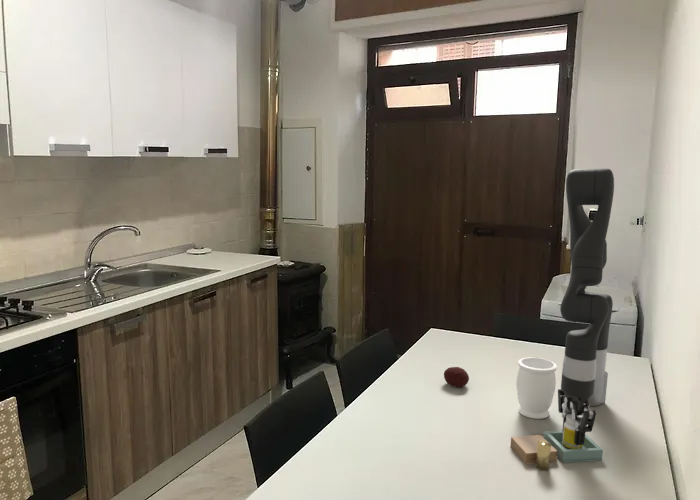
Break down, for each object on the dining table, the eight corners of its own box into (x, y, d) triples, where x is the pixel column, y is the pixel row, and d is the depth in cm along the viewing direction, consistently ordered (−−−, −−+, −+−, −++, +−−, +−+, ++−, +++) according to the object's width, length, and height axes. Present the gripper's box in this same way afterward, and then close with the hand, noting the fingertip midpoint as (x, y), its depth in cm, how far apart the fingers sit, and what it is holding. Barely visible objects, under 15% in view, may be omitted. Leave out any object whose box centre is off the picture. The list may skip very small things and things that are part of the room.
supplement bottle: (584, 454, 135) (587, 422, 133) (563, 452, 136) (566, 420, 134) (580, 445, 139) (583, 413, 138) (560, 442, 140) (563, 411, 139)
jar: (533, 424, 151) (537, 372, 149) (506, 409, 160) (510, 360, 158) (561, 416, 156) (565, 366, 153) (533, 402, 165) (537, 354, 163)
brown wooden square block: (539, 445, 140) (540, 434, 140) (556, 462, 133) (557, 451, 132) (510, 448, 139) (511, 437, 139) (525, 465, 131) (526, 453, 131)
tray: (579, 439, 143) (580, 429, 143) (601, 460, 133) (602, 449, 133) (543, 441, 142) (544, 431, 141) (563, 462, 132) (563, 451, 131)
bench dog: (545, 463, 131) (547, 440, 130) (551, 470, 128) (553, 446, 127) (533, 464, 131) (535, 440, 130) (539, 471, 128) (541, 447, 127)
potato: (458, 379, 182) (459, 361, 181) (473, 388, 174) (474, 370, 173) (439, 382, 179) (440, 365, 178) (454, 392, 171) (455, 374, 170)
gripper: (610, 385, 128) (603, 452, 130) (577, 362, 142) (571, 424, 144) (579, 386, 127) (573, 454, 129) (549, 363, 141) (544, 425, 143)
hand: (572, 438), depth 137 cm, fingers open, 5 cm apart
